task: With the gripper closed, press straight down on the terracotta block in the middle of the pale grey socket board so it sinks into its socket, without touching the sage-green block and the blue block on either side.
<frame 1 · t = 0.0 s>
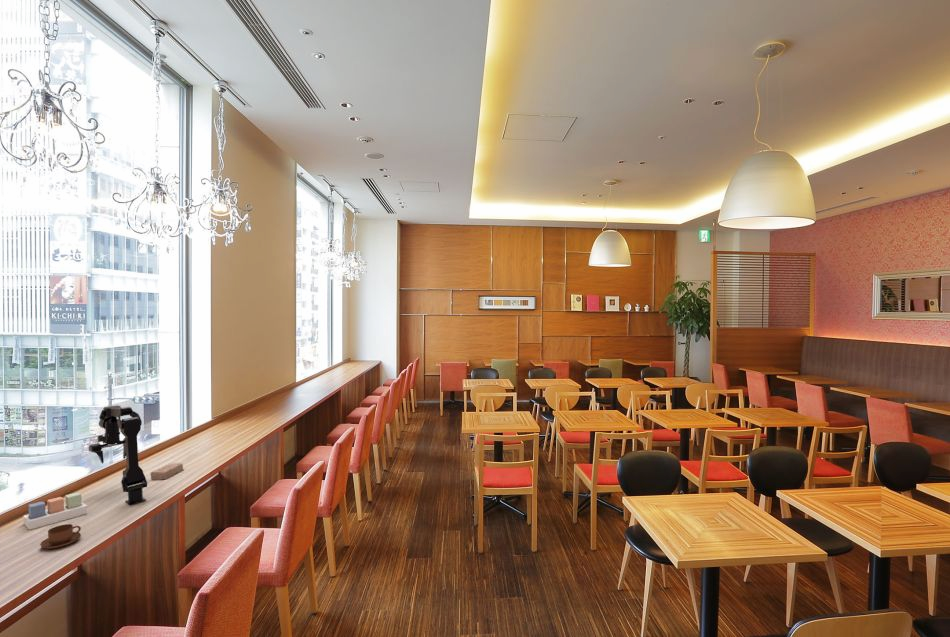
hand: (113, 460, 245), 15 cm above the bar counter, fingers open, 9 cm apart
block terracotta: (55, 506, 211), point 5 cm above the bar counter, slide at 0.0 cm
block sage: (73, 501, 216), point 5 cm above the bar counter, slide at 0.0 cm
cup and saucer: (61, 544, 187), on the bar counter
socket board: (56, 518, 211), on the bar counter
blue block: (37, 511, 206), point 5 cm above the bar counter, slide at 0.0 cm
brick: (167, 475, 266), on the bar counter
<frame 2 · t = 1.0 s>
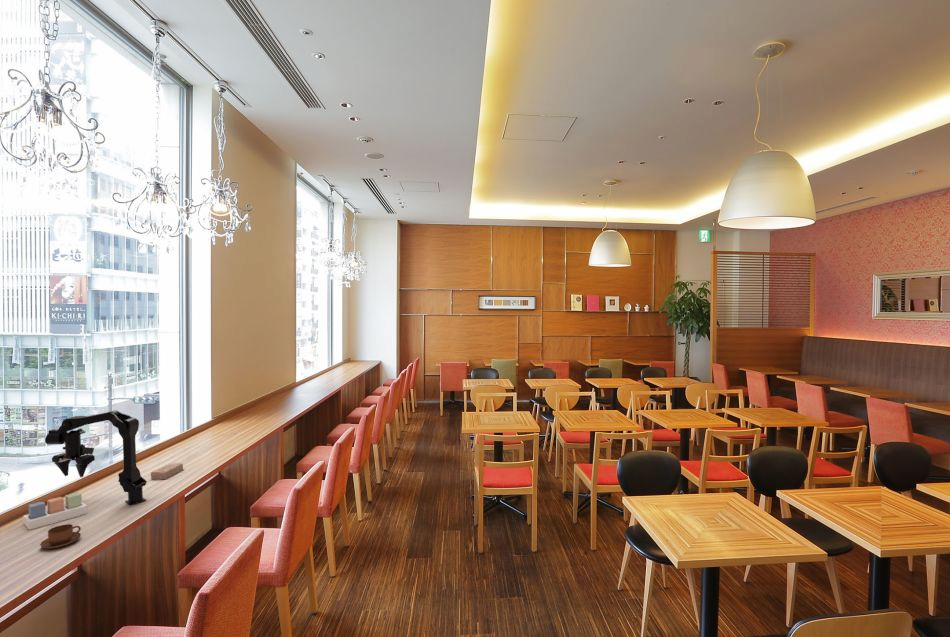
hand: (74, 476, 226), 13 cm above the bar counter, fingers open, 9 cm apart
nothing on the bar counter moved.
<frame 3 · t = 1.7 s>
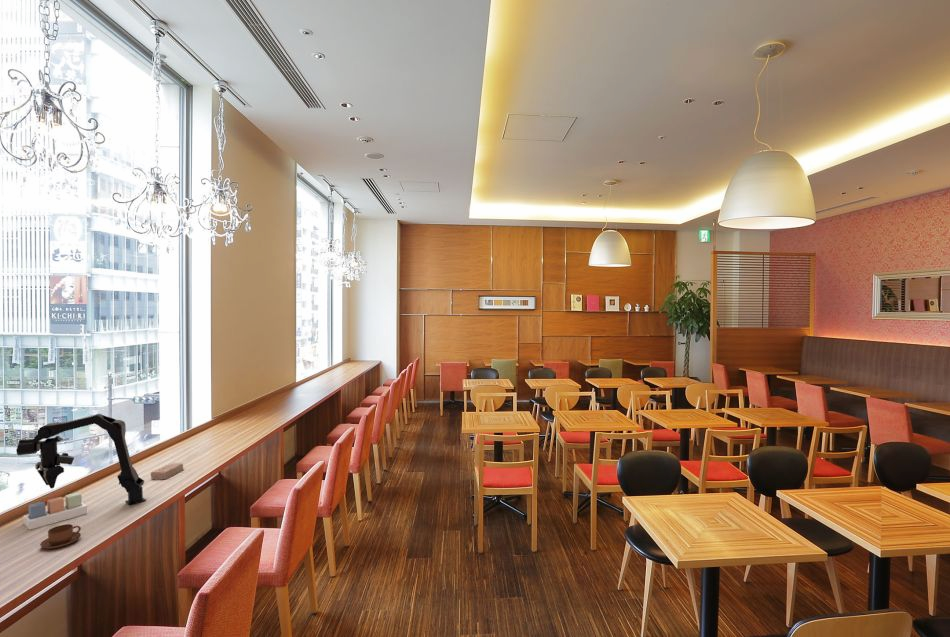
hand: (50, 486, 215), 13 cm above the bar counter, fingers open, 7 cm apart
nothing on the bar counter moved.
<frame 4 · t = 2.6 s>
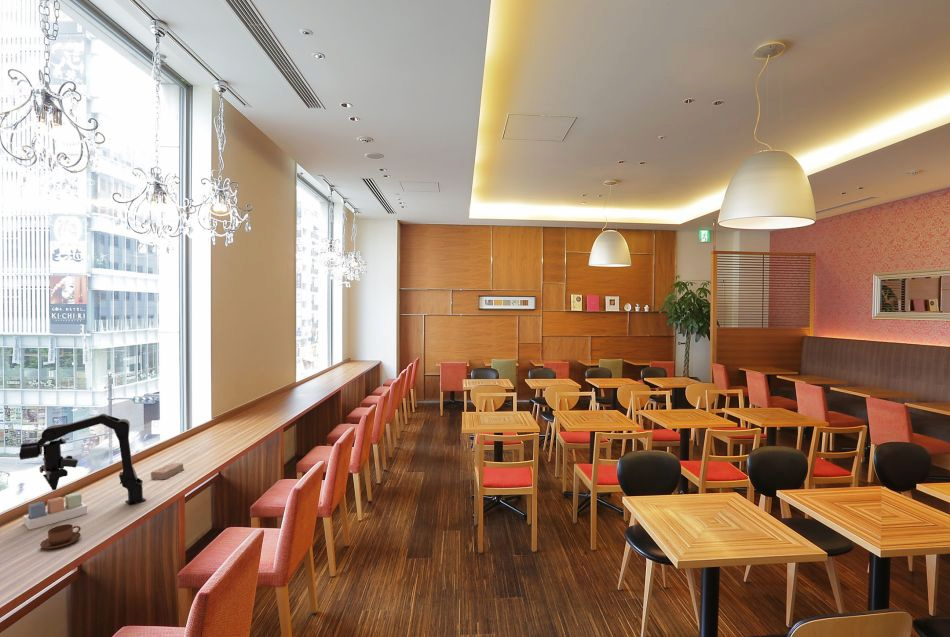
hand: (54, 489, 212), 12 cm above the bar counter, fingers closed
nothing on the bar counter moved.
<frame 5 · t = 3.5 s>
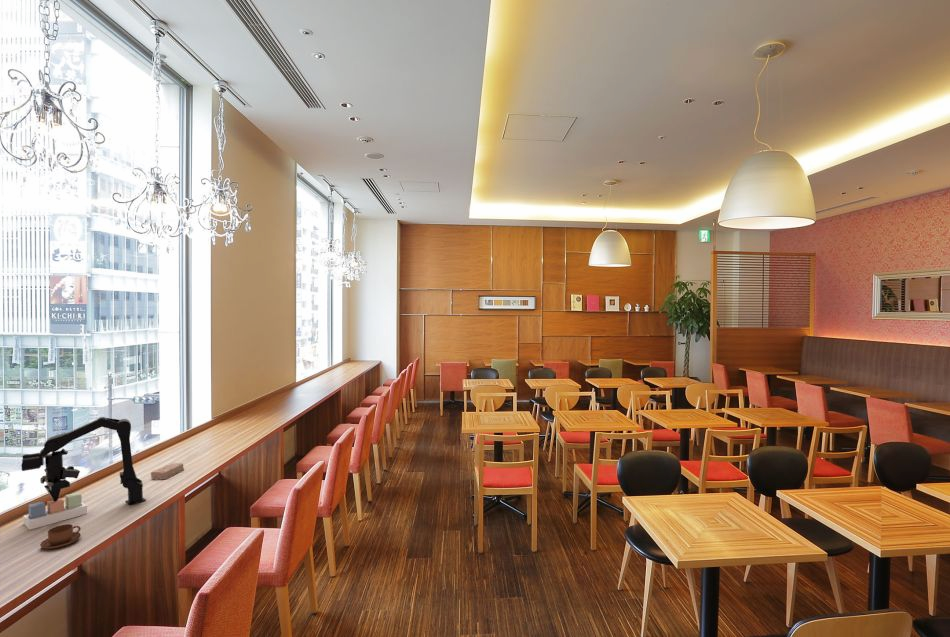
hand: (55, 501, 211), 8 cm above the bar counter, fingers closed, pressing on block terracotta
block terracotta: (55, 507, 211), point 5 cm above the bar counter, slide at 0.7 cm, touching gripper
everything else where it was.
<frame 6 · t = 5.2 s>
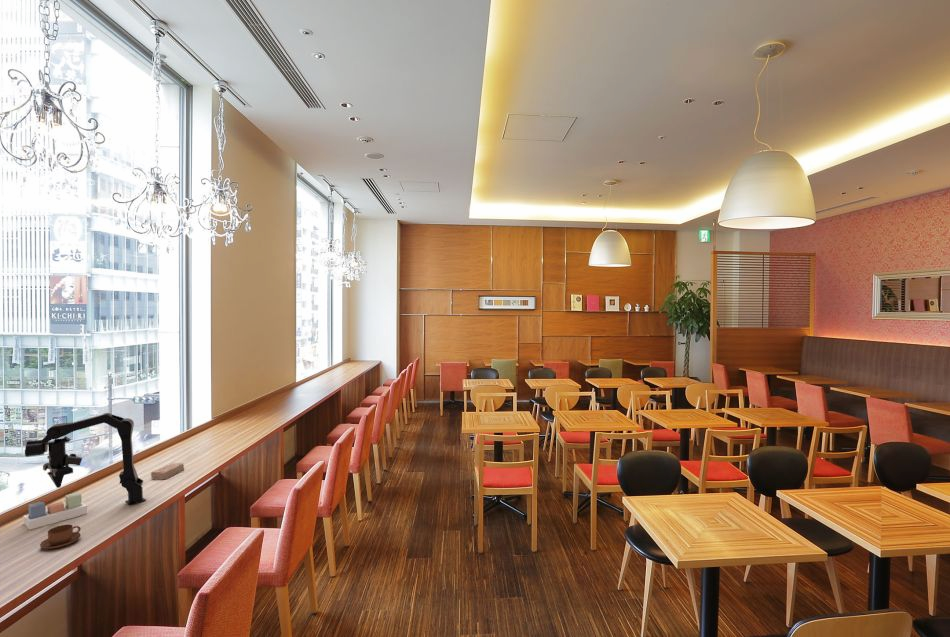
hand: (58, 487, 214), 12 cm above the bar counter, fingers closed
block terracotta: (55, 511, 211), point 3 cm above the bar counter, slide at 2.3 cm
everything else where it was.
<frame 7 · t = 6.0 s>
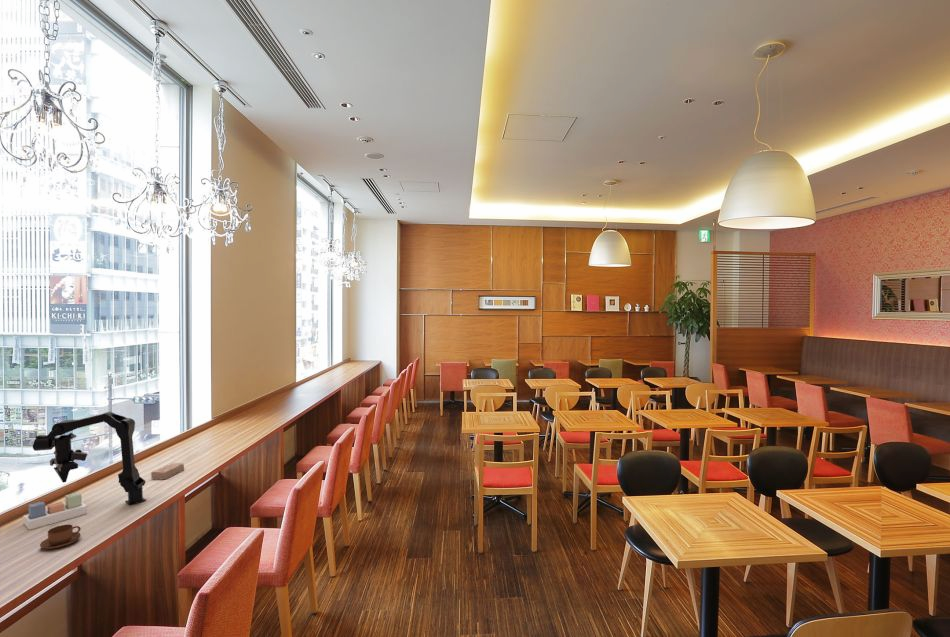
hand: (64, 482, 221), 12 cm above the bar counter, fingers closed
nothing on the bar counter moved.
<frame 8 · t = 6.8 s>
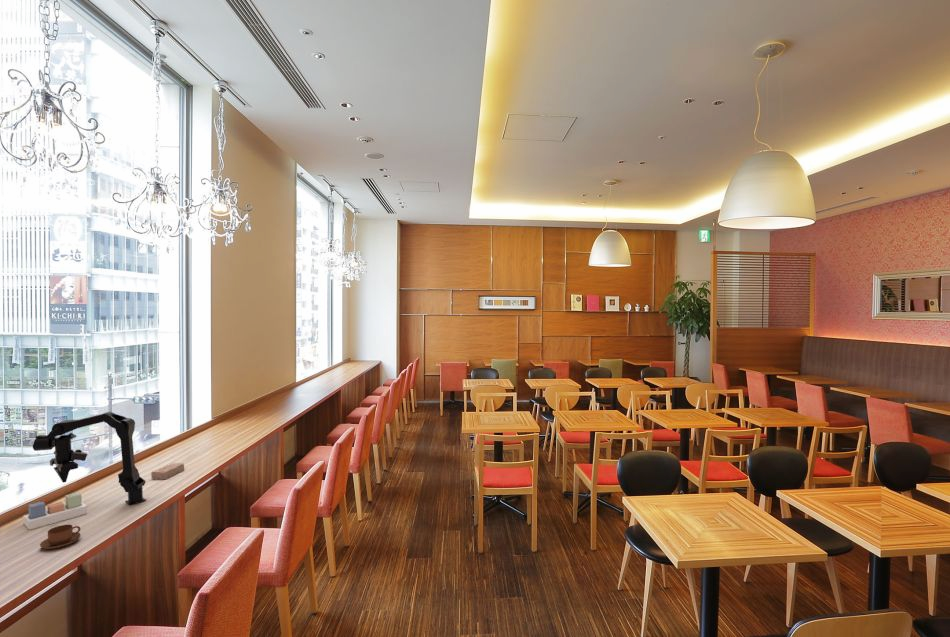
hand: (64, 482, 221), 12 cm above the bar counter, fingers closed
nothing on the bar counter moved.
at the end: block terracotta slide at 2.3 cm; block sage slide at 0.0 cm; blue block slide at 0.0 cm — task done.
